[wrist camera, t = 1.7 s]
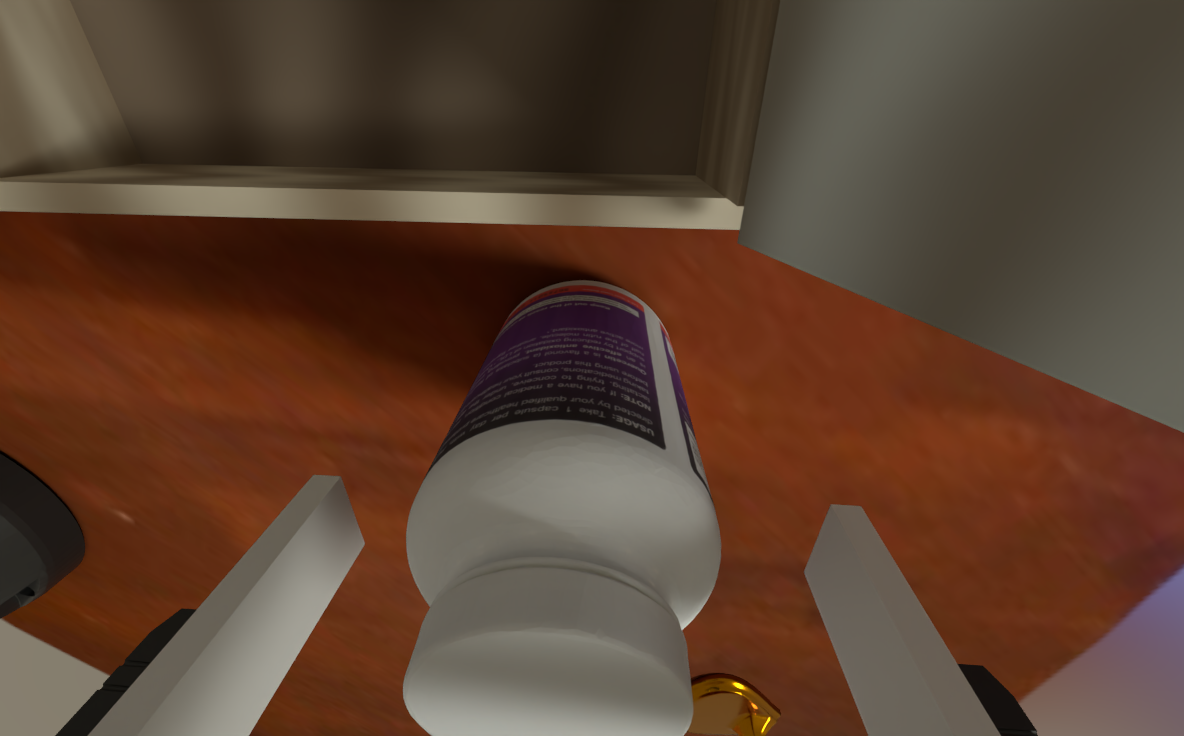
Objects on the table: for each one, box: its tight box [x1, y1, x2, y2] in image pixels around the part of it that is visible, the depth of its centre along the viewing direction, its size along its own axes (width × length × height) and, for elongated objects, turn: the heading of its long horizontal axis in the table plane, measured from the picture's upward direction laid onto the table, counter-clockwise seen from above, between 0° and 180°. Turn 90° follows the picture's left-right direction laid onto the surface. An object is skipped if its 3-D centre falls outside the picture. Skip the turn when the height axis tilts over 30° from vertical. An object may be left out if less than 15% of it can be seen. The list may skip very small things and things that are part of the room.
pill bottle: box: [403, 280, 721, 736], centre depth 15 cm, size 8×8×14 cm
